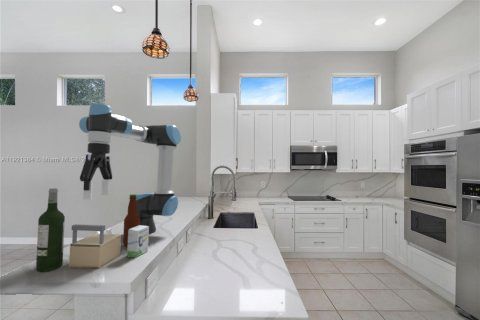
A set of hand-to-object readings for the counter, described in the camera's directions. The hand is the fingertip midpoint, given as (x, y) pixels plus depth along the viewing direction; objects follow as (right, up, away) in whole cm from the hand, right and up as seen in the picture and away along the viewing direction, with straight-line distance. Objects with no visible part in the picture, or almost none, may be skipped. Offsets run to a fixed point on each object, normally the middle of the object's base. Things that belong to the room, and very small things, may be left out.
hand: (96, 197), depth 91 cm
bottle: (+2, -28, +24) cm, 37 cm away
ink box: (+10, -28, +13) cm, 32 cm away
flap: (-3, -19, +5) cm, 20 cm away
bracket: (-14, -28, +21) cm, 38 cm away
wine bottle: (-16, -27, -3) cm, 31 cm away
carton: (-3, -27, +5) cm, 27 cm away
